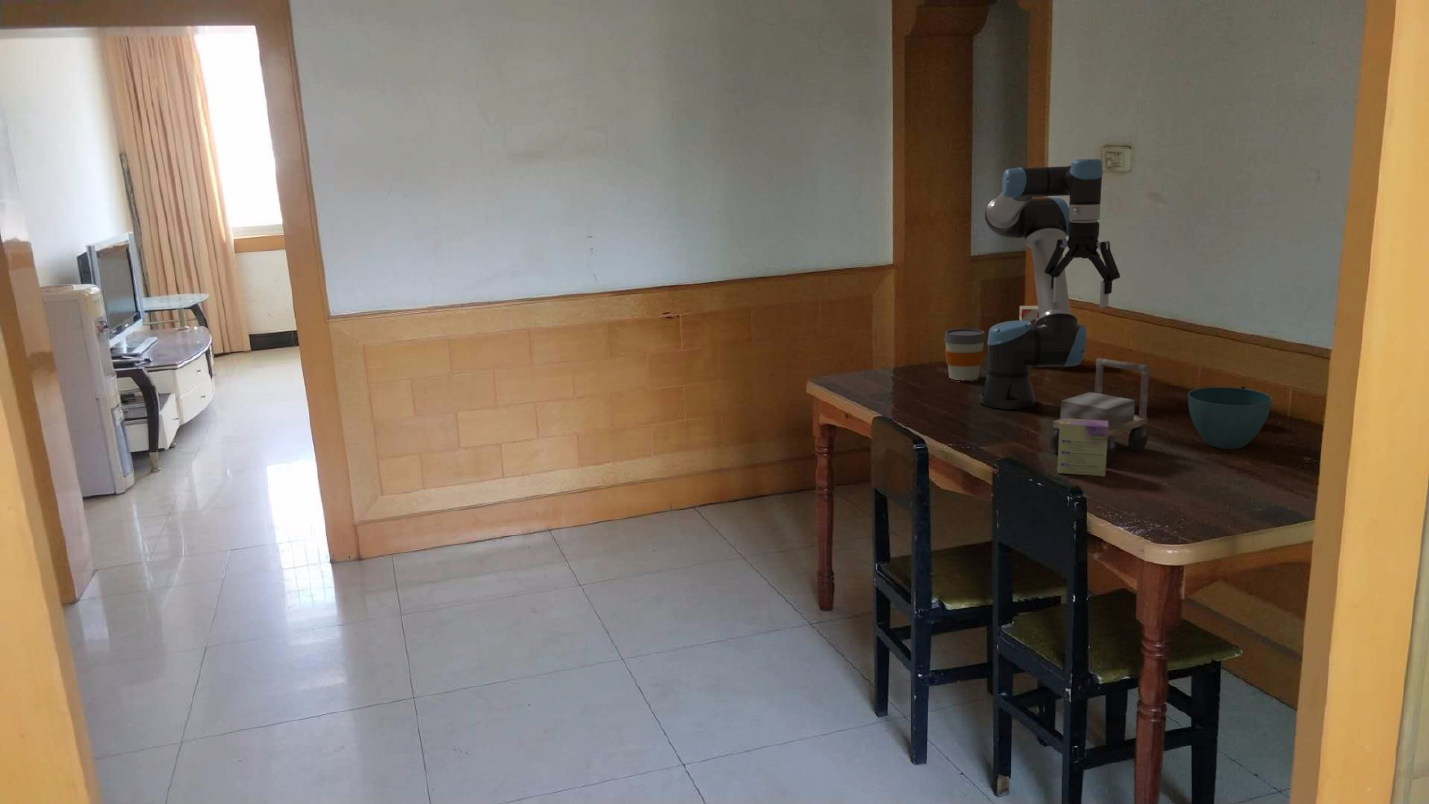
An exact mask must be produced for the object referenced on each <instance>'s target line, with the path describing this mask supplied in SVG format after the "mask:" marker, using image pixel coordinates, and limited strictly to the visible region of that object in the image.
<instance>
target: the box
mask: <svg viewBox="0 0 1429 804" xmlns="http://www.w3.org/2000/svg"><path fill="white" fill-rule="evenodd" d="M1107 441H1108V421H1103V420H1085V419H1067V418H1061V420H1060V430H1059V448H1058V452H1057V474H1068V475H1082V476H1083V475H1084V476H1094V477H1095V476H1096V477H1103V478H1104V477H1106V472H1107V464H1106V458H1107Z"/></svg>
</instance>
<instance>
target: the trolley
mask: <svg viewBox="0 0 1429 804" xmlns="http://www.w3.org/2000/svg"><path fill="white" fill-rule="evenodd" d="M1095 366H1096V367H1095V382H1094V383H1095V385H1094V392H1093V391H1088V392H1085V393H1081V394H1078V395H1076V396H1072V397H1069V398H1066V399H1063V400H1060V418H1059V419H1055V420H1053V421H1052V434H1051V437H1050V442H1049V443H1050V449H1051V450H1052V451H1053V452H1054V453H1058V448H1059V430H1060V420H1061V418H1067V419H1085V420H1103V421H1108V441H1107V458H1106V465H1108V464H1110V463H1111V462H1112V461H1113V460H1114V458H1115V455H1116V450H1117V444H1116V441H1115V439H1116V437H1115V436H1117V435H1120V434H1122V433H1126V432H1129V431H1130V432H1129V434H1128V440H1127V443H1128V447H1129V449H1130V450H1132V451H1136V452H1141V451H1143V450H1144V448H1145V447H1146V446H1147V442H1148V441H1149V439H1148V438H1149V432H1148V422H1149V421H1148V418H1149V417H1147V409H1148V398H1149V397H1148V396H1149V381H1150V370H1151V367H1150V365H1147V364H1141V363H1134V362H1126V361H1121V360H1120V361H1119V360H1114V359H1107V358H1100V357H1099V358H1098V357H1097V358H1096V359H1095ZM1104 366H1105V367H1111V368H1118V369H1125V370H1131V371H1135V372H1136V371H1137V372H1141V376H1140V377H1141V380H1140V393H1139V394H1140V395H1139V407H1138V408H1139V409H1138V410H1139V412H1138V415H1137V414H1135V409H1136V408H1135V406H1136V399H1132V398H1126V397H1125V398H1124V397H1120V396H1114V395H1108V394H1104V393H1103V379H1104V377H1103V376H1104Z"/></svg>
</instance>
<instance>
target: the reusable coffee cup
mask: <svg viewBox="0 0 1429 804" xmlns="http://www.w3.org/2000/svg"><path fill="white" fill-rule="evenodd" d="M985 336H986V335H985V331H984V330H981V329H976V328H953V329H949V330H946V331H945V332H944V339H943V341H944V342H945V343H944V344H945V349H944V353H945V354H944V355H945V363H946V364H947V367H948V379H949V378H951V379H954V380H962V381H964V380H973V379H976V378H978V379H979V377H980V375H979V374H980V368H981V365H982V364H983V358H984V352H985V351H984V350H985V349H984V343H985V342H986V337H985Z"/></svg>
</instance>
